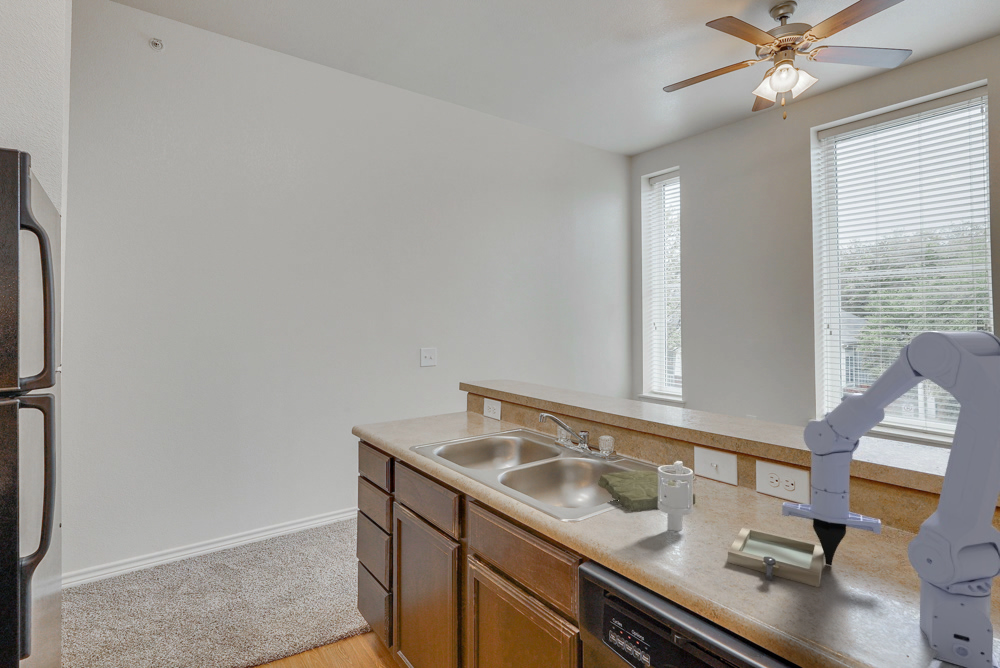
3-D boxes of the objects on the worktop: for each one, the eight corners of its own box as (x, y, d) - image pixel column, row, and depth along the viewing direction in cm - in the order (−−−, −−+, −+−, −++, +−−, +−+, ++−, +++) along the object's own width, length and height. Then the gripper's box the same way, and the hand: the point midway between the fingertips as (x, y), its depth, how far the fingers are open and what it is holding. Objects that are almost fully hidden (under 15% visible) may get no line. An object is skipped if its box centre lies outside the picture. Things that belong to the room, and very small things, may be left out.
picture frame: (818, 590, 80) (818, 578, 80) (726, 564, 88) (726, 553, 88) (825, 554, 92) (825, 544, 92) (743, 535, 100) (743, 525, 100)
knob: (774, 591, 82) (774, 562, 82) (762, 588, 83) (762, 559, 83) (775, 586, 84) (776, 558, 83) (763, 583, 85) (764, 555, 85)
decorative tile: (651, 479, 141) (651, 467, 141) (696, 505, 121) (696, 491, 121) (592, 486, 136) (592, 473, 136) (629, 513, 116) (629, 499, 116)
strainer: (696, 532, 105) (696, 463, 104) (687, 544, 99) (687, 471, 99) (663, 524, 109) (663, 457, 109) (653, 535, 103) (653, 465, 103)
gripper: (879, 489, 86) (878, 564, 87) (785, 474, 95) (784, 543, 95) (882, 501, 81) (880, 582, 81) (781, 484, 89) (780, 558, 89)
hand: (828, 562), depth 88 cm, fingers closed
